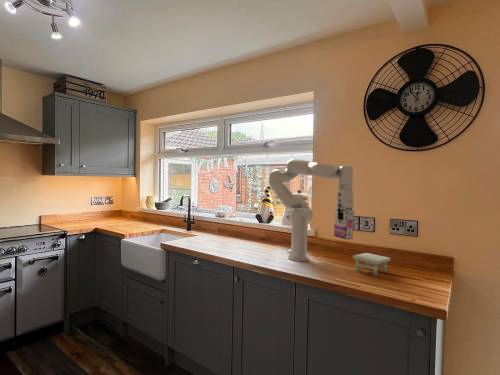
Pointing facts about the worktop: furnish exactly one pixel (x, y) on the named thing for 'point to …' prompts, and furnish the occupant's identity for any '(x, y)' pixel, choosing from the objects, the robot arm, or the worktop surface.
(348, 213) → the candy bar box
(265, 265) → the worktop surface
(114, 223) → the worktop surface
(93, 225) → the worktop surface
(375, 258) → the step stool
